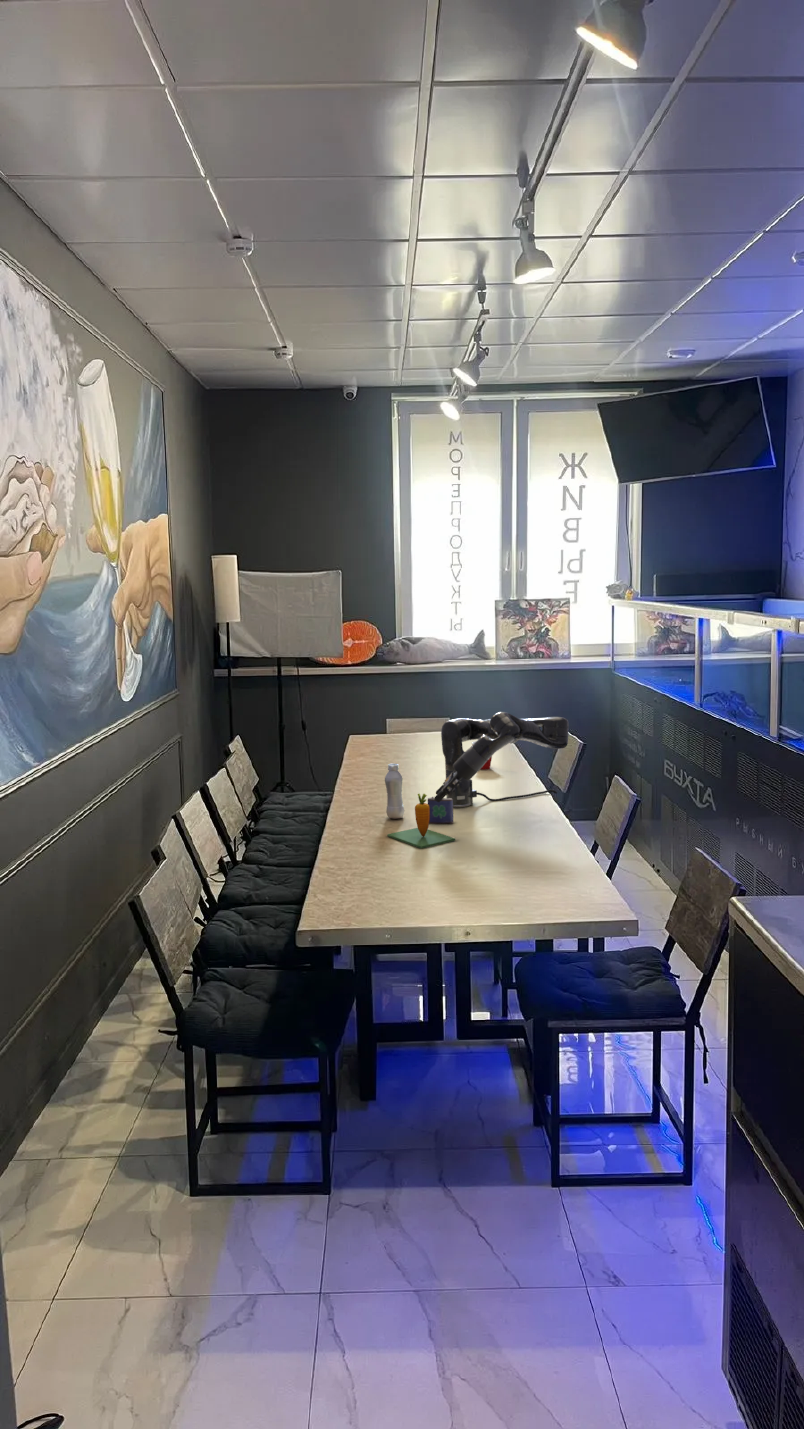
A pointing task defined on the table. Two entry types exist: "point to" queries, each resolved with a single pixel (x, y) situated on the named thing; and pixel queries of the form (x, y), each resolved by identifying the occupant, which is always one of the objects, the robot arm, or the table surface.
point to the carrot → (422, 815)
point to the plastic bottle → (394, 792)
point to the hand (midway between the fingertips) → (436, 797)
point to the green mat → (421, 838)
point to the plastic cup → (488, 763)
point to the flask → (441, 811)
